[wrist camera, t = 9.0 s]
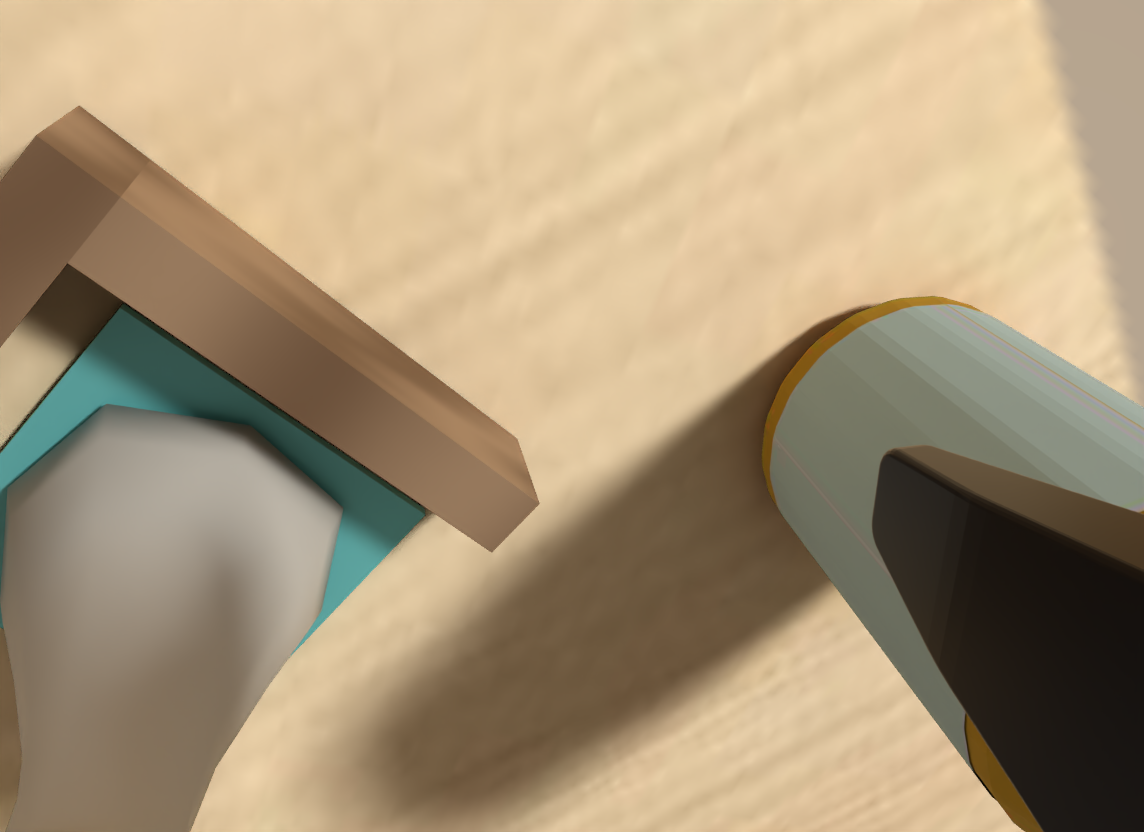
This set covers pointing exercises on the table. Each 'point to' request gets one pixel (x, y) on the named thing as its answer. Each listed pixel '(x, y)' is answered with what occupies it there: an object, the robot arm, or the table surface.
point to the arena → (250, 320)
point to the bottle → (947, 421)
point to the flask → (151, 610)
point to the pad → (200, 389)
